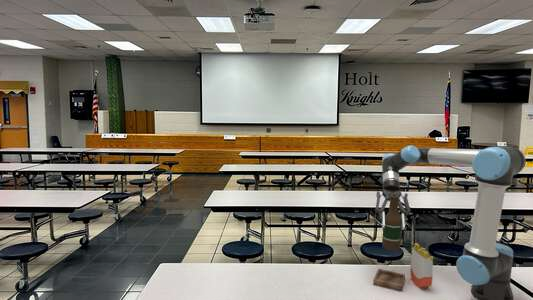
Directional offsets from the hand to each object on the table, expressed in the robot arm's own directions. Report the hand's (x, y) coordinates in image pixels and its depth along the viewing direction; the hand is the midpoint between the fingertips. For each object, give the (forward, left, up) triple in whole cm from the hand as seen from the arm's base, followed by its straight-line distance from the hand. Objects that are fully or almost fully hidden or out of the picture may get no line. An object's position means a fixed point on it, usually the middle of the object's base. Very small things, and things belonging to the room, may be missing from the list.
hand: (393, 227), depth 153 cm
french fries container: (-12, -8, -27) cm, 31 cm away
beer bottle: (+1, -3, -11) cm, 11 cm away
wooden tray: (+1, -3, -27) cm, 27 cm away
